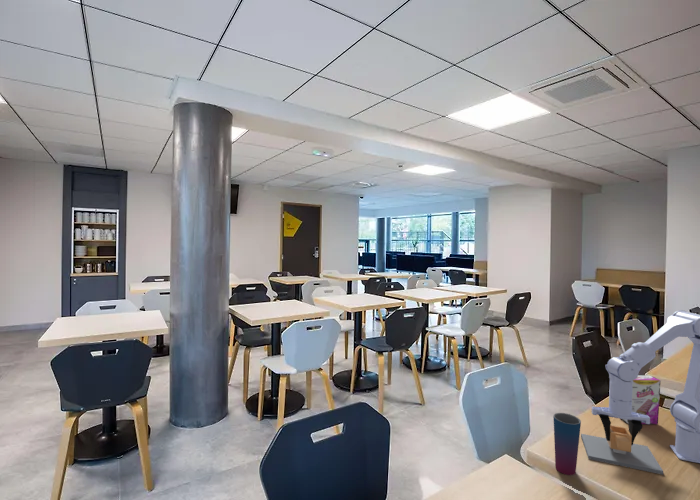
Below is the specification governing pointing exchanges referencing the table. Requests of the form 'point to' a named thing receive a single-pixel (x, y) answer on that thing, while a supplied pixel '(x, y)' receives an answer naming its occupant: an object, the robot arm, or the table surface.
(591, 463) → the table surface
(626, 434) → the tan square tube
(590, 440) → the duct board
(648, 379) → the candy bar box
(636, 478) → the table surface
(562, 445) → the cup
